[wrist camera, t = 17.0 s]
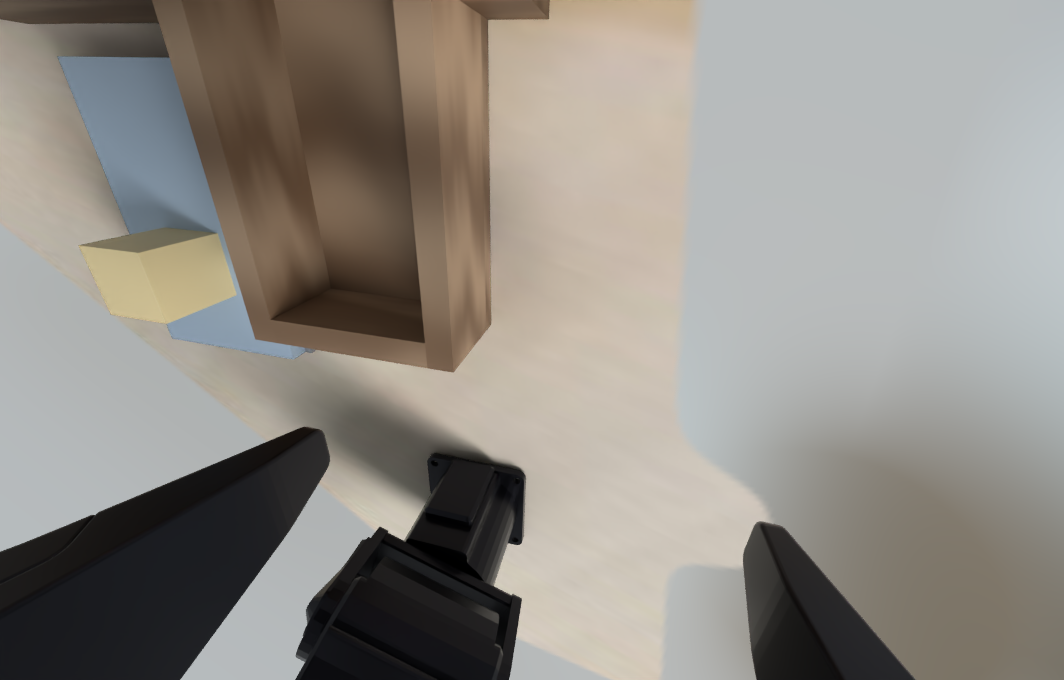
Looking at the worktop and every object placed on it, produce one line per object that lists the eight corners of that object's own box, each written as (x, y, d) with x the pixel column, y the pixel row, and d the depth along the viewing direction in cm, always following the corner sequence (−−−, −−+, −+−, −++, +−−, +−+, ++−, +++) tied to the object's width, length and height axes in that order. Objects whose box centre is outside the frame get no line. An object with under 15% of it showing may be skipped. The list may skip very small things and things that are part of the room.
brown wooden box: (535, 330, 22) (492, 409, 16) (134, 274, 27) (-16, 317, 21) (555, -132, 14) (483, -334, 8) (-18, -86, 19) (-330, -186, 13)
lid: (305, 351, 26) (236, 397, 21) (187, 331, 28) (101, 370, 23) (234, 61, 19) (111, 42, 15) (81, 59, 21) (-69, 41, 16)
